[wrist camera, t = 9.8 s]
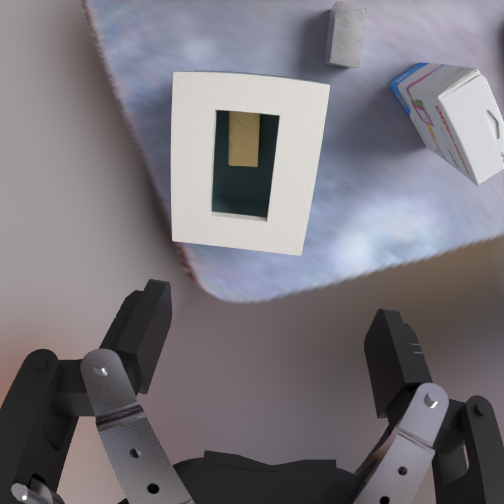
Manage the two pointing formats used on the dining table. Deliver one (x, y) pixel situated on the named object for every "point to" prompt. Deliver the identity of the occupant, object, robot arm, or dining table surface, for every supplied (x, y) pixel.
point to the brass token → (244, 138)
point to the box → (244, 177)
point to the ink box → (455, 116)
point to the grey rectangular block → (345, 35)
